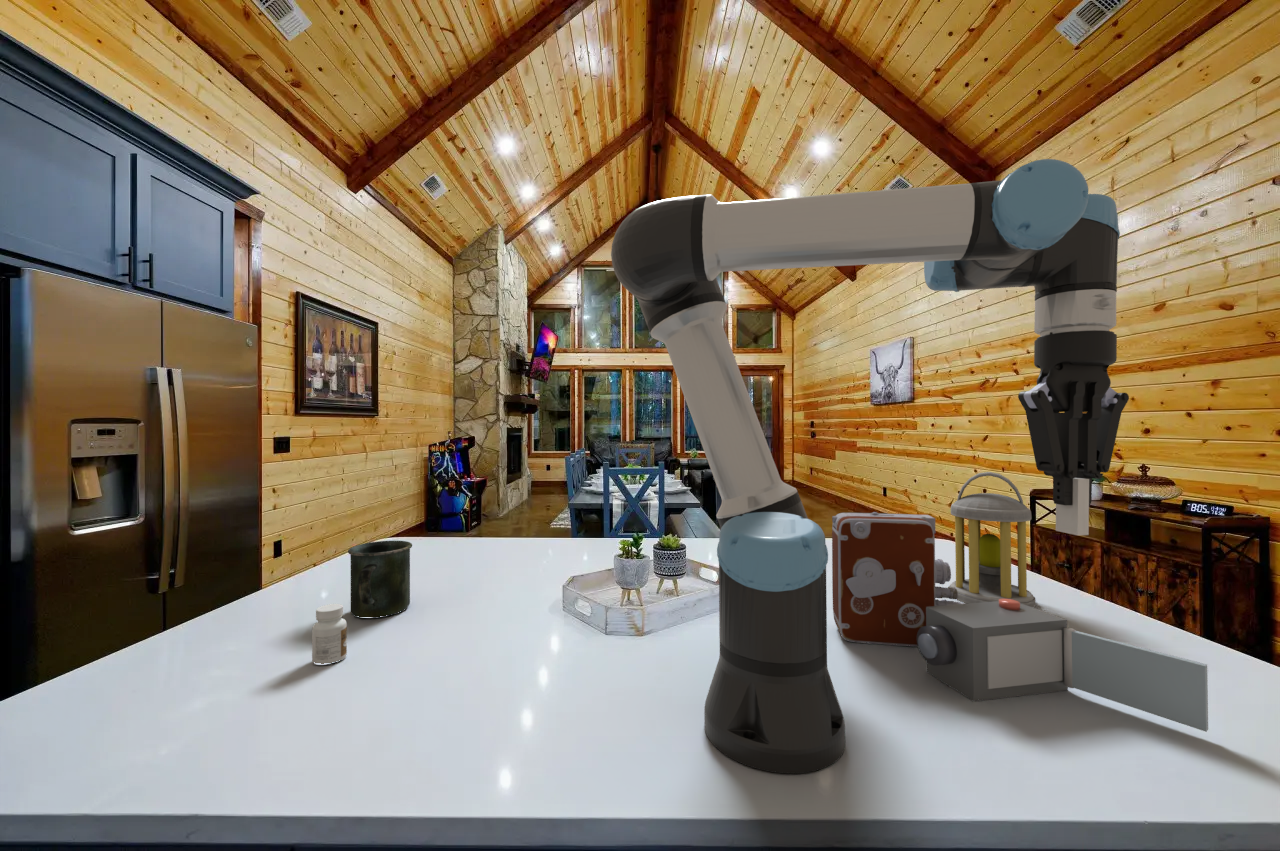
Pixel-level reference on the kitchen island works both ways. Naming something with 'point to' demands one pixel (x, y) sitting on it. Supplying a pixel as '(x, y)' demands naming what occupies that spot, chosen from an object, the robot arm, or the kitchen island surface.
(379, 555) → the mug
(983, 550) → the lantern
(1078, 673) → the side door
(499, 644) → the kitchen island surface
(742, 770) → the kitchen island surface
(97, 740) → the kitchen island surface
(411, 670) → the kitchen island surface
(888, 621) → the cine camera
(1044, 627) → the camera block
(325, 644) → the pill bottle
